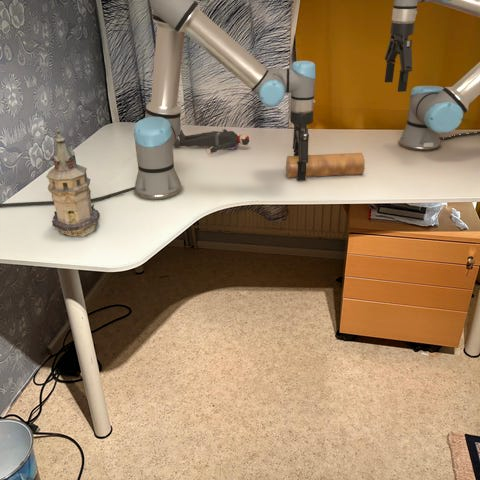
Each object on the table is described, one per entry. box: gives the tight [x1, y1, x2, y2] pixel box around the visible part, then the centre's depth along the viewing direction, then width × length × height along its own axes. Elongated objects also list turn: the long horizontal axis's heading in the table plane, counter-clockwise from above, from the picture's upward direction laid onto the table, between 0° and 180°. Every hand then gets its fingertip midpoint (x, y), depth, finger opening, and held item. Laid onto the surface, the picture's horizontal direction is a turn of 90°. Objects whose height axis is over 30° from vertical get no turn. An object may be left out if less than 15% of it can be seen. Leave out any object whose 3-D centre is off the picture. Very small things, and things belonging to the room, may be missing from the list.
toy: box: [173, 128, 250, 154], centre depth 214 cm, size 26×6×30 cm
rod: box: [285, 152, 365, 179], centre depth 186 cm, size 26×7×7 cm, turn 95°
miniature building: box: [46, 129, 101, 237], centre depth 148 cm, size 13×14×30 cm
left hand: (299, 175), depth 187 cm, fingers closed on rod, 7 cm apart
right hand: (394, 86), depth 188 cm, fingers open, 13 cm apart
